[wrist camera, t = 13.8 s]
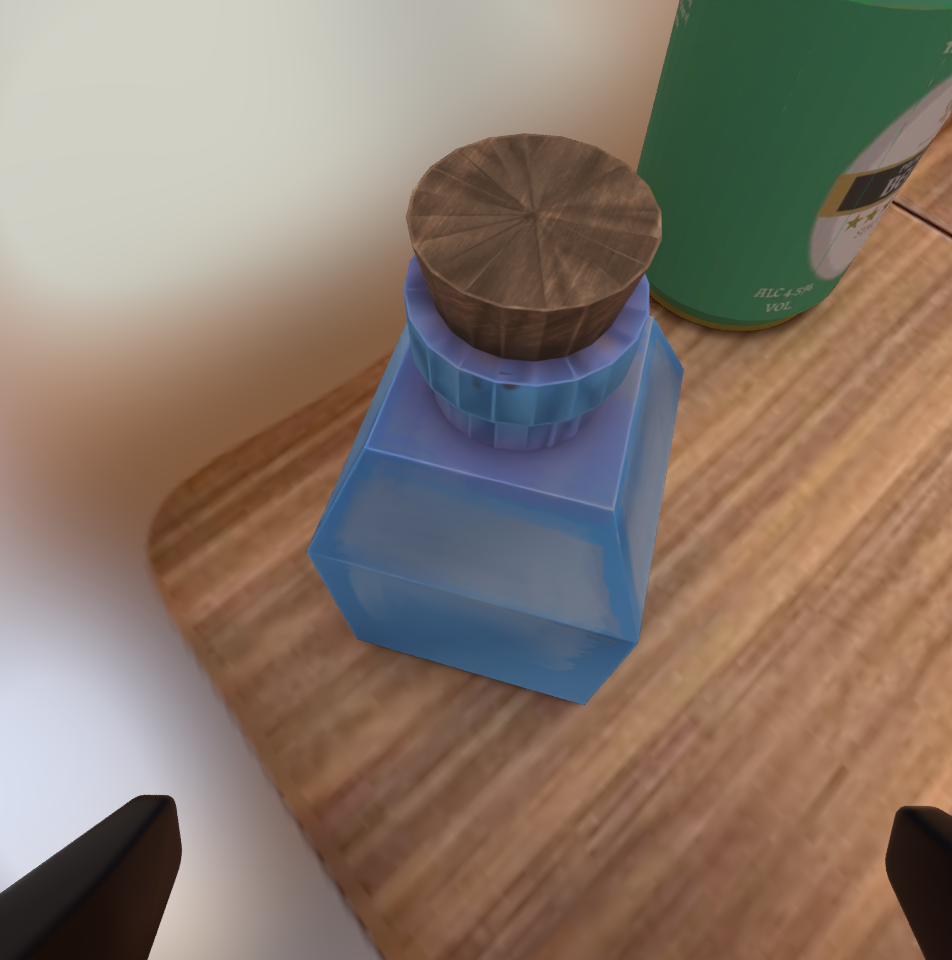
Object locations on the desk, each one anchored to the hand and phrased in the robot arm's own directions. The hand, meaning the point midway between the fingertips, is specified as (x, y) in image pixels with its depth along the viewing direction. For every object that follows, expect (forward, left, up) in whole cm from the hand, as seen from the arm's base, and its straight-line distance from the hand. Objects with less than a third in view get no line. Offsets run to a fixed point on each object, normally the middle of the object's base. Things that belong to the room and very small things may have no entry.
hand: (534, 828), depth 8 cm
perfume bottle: (+3, +6, -9) cm, 11 cm away
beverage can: (+17, +13, -9) cm, 23 cm away
